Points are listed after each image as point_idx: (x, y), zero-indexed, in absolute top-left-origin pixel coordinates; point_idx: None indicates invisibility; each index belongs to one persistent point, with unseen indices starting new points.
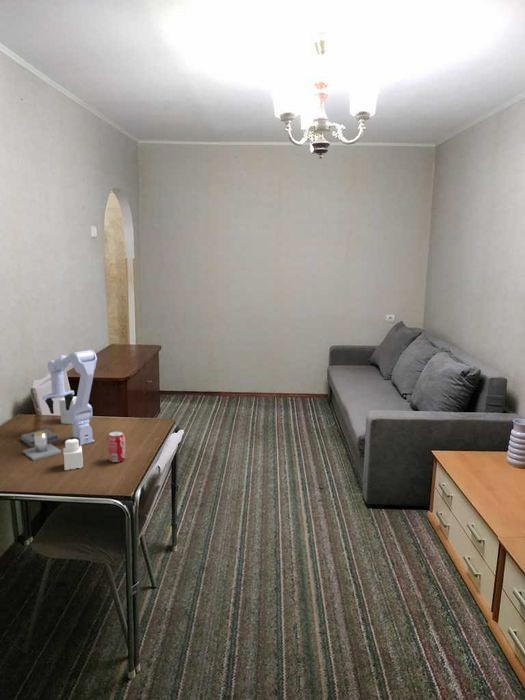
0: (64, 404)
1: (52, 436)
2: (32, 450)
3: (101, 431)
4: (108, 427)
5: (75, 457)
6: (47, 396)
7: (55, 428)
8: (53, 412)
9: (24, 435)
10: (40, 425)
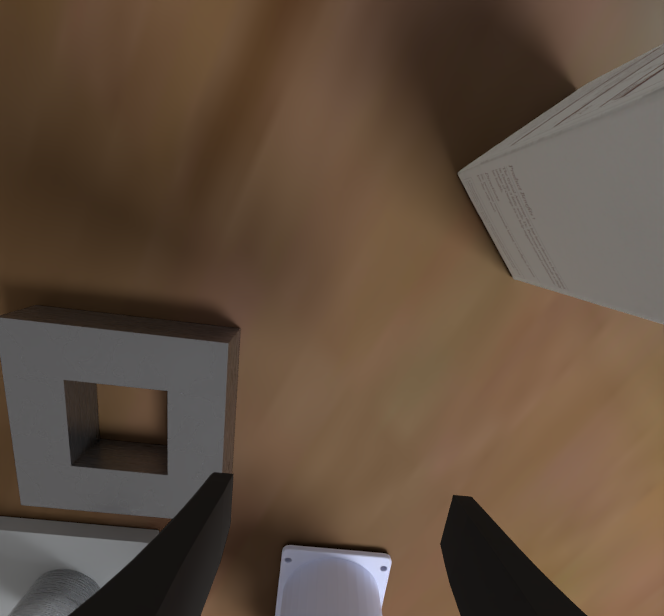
0: (648, 207)
1: None
2: (22, 565)
3: None
4: (588, 520)
5: None
6: None
7: (349, 257)
8: (222, 546)
9: (15, 350)
10: (301, 56)
